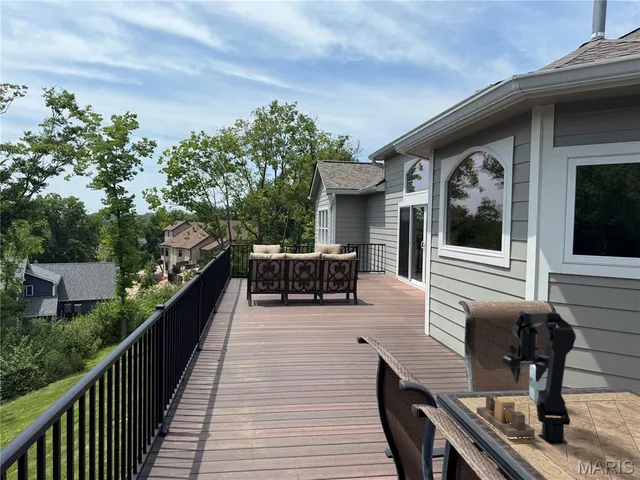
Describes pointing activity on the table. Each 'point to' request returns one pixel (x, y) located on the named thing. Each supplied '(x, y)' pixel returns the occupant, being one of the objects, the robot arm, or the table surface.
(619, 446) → the table surface
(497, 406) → the clip
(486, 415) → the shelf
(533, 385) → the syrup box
